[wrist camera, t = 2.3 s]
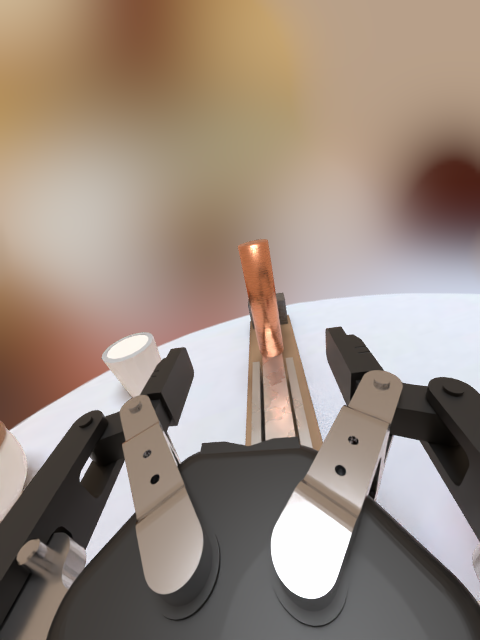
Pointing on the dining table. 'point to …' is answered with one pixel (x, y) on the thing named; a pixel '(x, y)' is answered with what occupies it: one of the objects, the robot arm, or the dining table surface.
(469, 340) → the dining table surface
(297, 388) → the guide sleeve
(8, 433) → the lidded jar
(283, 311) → the socket block
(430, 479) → the dining table surface
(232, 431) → the dining table surface
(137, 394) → the beige cylindrical piece
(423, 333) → the dining table surface
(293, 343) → the plank
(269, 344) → the sliding bolt with handle
